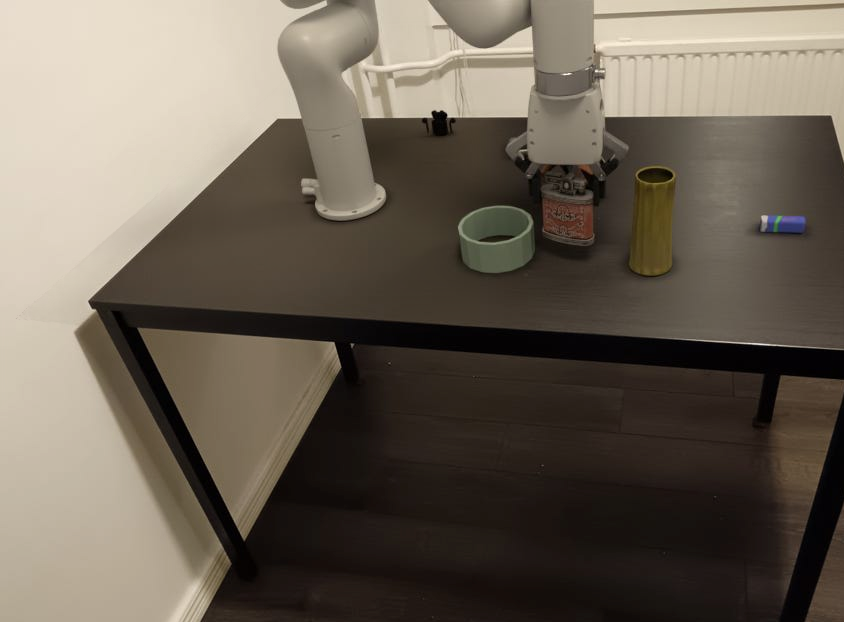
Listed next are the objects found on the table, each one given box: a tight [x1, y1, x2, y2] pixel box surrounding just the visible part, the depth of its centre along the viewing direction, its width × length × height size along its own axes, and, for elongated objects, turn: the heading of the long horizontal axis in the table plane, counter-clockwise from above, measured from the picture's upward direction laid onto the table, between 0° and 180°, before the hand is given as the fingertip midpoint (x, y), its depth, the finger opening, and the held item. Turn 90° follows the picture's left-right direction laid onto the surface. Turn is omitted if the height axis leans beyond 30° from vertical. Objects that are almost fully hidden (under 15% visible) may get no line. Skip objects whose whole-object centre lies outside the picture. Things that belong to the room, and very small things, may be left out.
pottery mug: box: [540, 164, 595, 198], centre depth 126 cm, size 12×10×8 cm
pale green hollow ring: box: [457, 205, 536, 274], centre depth 115 cm, size 11×11×5 cm
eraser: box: [759, 215, 806, 234], centre depth 112 cm, size 2×6×2 cm, turn 73°
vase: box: [628, 165, 677, 277], centre depth 105 cm, size 6×6×14 cm
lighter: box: [541, 171, 595, 247], centre depth 108 cm, size 8×3×10 cm, turn 58°
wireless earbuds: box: [421, 109, 457, 136], centre depth 151 cm, size 7×2×5 cm, turn 75°
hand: (567, 200), depth 107 cm, fingers closed on lighter, 8 cm apart
